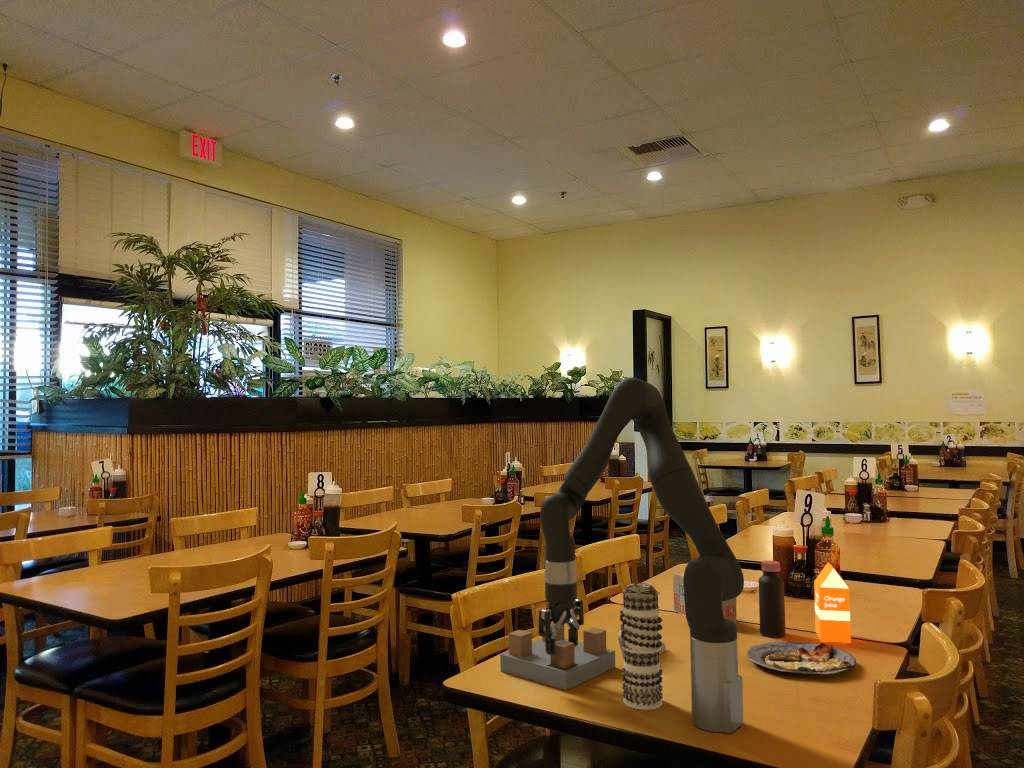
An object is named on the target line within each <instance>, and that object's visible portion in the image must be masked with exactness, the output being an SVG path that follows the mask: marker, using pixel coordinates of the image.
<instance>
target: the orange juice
mask: <svg viewBox="0 0 1024 768" xmlns="http://www.w3.org/2000/svg"><path fill="white" fill-rule="evenodd" d="M813 582H814V585H813V586H814V613H815V614H814V615H815V616H814V618H815V619H814V623H815V634H816V633H817V634H816V636H817V635H818V636H817V638H818V637H819V638H818V639H820V640H819V641H820V643H828V642H843V643H842V644H846V643H852V642H851V641H852V639H851V610H850V609H851V607H850V604H851V603H850V588H849V586H848V585H847V584H846V582H845V581H844V579H842V577H841V575H840V574H839V573H838V572H837V571H836V569H835V568H834V567H833V565H831V563H830V562H827V563H826V565H825V566H823V568H822V570H821V571H820V572H819V574H818V576H817V577H816V578H815V580H814V581H813ZM844 642H845V643H844Z"/></svg>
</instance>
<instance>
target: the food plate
mask: <svg viewBox="0 0 1024 768" xmlns="http://www.w3.org/2000/svg"><path fill="white" fill-rule="evenodd" d="M788 652H790V653H791V652H794V653H795V654H798V656H797V655H791V654H787V653H788ZM779 653H784V654H779ZM747 654H748V655H747V656H748V659H749V660H751V662H754V663H756V664H758V665H760V666H762V667H765V668H767V669H769V670H775V671H780V672H788V673H792V674H809V675H810V676H813V674H815V675H816V674H819V675H838V674H842V673H846V672H849V671H851V670H852V669H854V668H856V665H857V660H856V657H855V656H853V655H852V654H850V653H849V652H847V651H844V650H843V649H841V648H840V649H839V648H838V647H834V645H832V644H829V645H828V644H826V643H824V642H820V644H817V643H814V642H805V641H804V642H802V641H801V642H800V641H786V640H785V641H783V640H782V641H781V640H778V641H777V640H776V641H767V642H763V643H761V644H756V645H753V646H751V647H750V648H748V649H747ZM771 654H772V655H771ZM768 655H769V656H768ZM766 656H768V657H766ZM767 658H768V659H769V660H770V661H769V660H768V659H767ZM765 659H767V660H766V662H765ZM774 661H784V662H774Z"/></svg>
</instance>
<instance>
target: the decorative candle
mask: <svg viewBox="0 0 1024 768" xmlns="http://www.w3.org/2000/svg"><path fill="white" fill-rule="evenodd" d="M621 594H622V597H623V603H622V604H623V605H622V609H621V610H619V614H620V615H619V621H620V622H621V624H620V631H621V630H622V631H621V637H622V638H623V641H622V648H623V649H624V659H623V667H622V670H621V672H622V674H623V675H622V679H621V680H623V681H624V682H623V683H622V685H621V689H622V697H623V700H622V703H623V702H624V703H625V704H626V705H627V706H626V705H625V704H624V703H623V704H624V705H625V706H626V707H628V706H629V707H628V708H630V707H631V708H630V709H634V708H635V709H634V710H638V709H639V710H640V711H650V709H652V710H656V709H659V708H660V707H662V706H663V692H662V691H663V685H662V683H663V677H662V675H663V670H662V669H661V660H660V655H659V651H660V650H661V646H662V643H661V642H660V641H658V640H662V638H663V636H662V634H661V633H659V632H660V631H661V630H663V625H662V624H660V623H662V622H663V618H662V617H660V616H659V615H660V606H659V595H660V592H659V590H657V589H656V588H655V586H654V585H652V584H649V583H645V582H644V583H643V582H634V583H630V584H628V585H627V586H626V587H625V589H623V590H622V591H621ZM624 634H625V636H624ZM641 709H642V710H641Z"/></svg>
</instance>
